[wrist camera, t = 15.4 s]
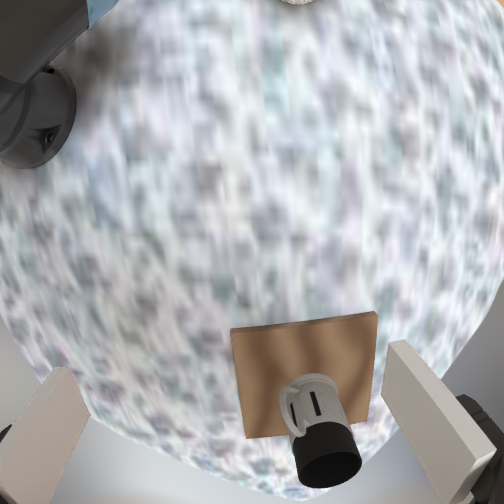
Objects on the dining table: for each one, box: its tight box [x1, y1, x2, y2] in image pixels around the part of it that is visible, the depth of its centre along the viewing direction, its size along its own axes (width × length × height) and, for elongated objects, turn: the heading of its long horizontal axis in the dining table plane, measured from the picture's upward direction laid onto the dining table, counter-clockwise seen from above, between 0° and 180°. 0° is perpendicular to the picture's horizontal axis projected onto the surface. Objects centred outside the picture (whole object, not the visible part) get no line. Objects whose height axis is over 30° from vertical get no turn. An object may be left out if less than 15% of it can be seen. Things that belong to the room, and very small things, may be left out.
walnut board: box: [231, 311, 378, 439], centre depth 44 cm, size 20×20×2 cm
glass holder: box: [279, 373, 362, 488], centre depth 36 cm, size 9×14×15 cm, turn 35°
